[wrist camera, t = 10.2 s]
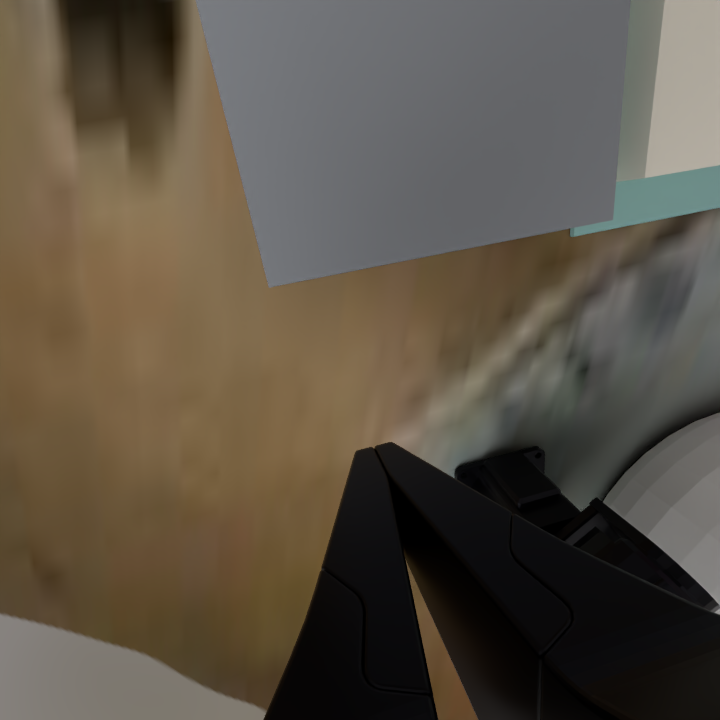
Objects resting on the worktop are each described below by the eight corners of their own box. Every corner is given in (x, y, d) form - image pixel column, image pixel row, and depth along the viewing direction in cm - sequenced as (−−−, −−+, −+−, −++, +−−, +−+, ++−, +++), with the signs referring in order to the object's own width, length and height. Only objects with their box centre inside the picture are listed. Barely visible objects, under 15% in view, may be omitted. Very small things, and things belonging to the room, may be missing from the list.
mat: (786, 193, 23) (792, 193, 23) (570, 236, 21) (573, 236, 21) (859, -117, 18) (868, -122, 18) (583, -95, 16) (589, -101, 16)
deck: (554, 221, 21) (613, 220, 17) (271, 275, 19) (268, 287, 15) (562, -63, 17) (642, -146, 13) (195, -29, 15) (166, -115, 11)
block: (644, 178, 19) (612, 182, 20) (745, 160, 19) (705, 166, 21) (671, -61, 15) (629, -30, 17) (791, -71, 16) (739, -40, 18)
